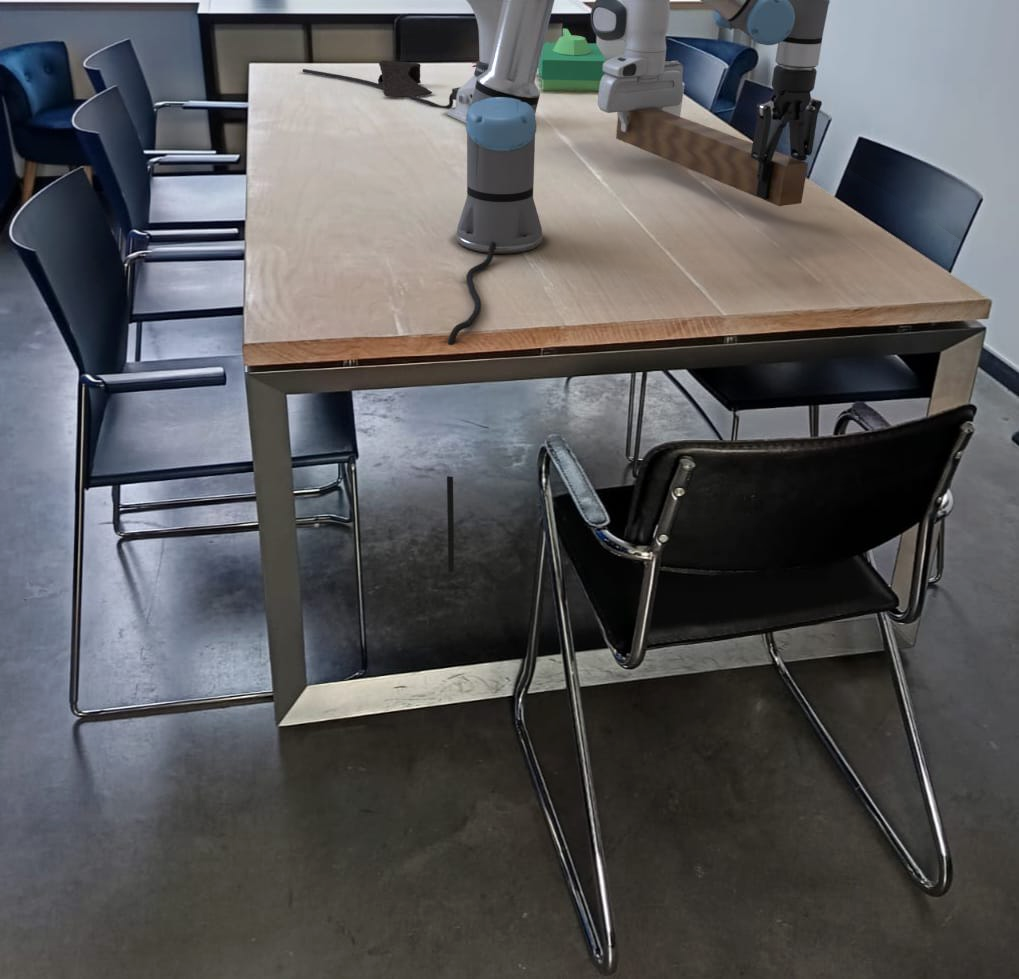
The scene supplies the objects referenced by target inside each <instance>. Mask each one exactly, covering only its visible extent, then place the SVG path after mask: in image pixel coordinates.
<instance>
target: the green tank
mask: <svg viewBox="0 0 1019 979" xmlns="http://www.w3.org/2000/svg"><path fill="white" fill-rule="evenodd" d="M607 60H608V59H606V57H605V55H604V54H603V52H602V51H601V49H600V48H599V46H598V44H597V43H590V42H589V43H588V41H587V38H586V37H584V36H581V35H575V34H574V35H572V34H571V33H570V31H569V29H568V28H562V35H561V36H560V37H559V38H558V40H557V41H556V42H544V45H543V49H542V53H541V57H540V61H539V65H538V69H537V73H538V76H539V77H540V80H541V86H542V87H541V89H542V91H574V92H576V91H581V92H599V86H600V81H601V78H602V77H603V75H605V74H606V73H605V72H604V71H603V63H604V62H605V61H607Z"/></svg>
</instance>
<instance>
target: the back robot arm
mask: <svg viewBox="0 0 1019 979" xmlns="http://www.w3.org/2000/svg"><path fill="white" fill-rule="evenodd" d="M466 2H467V3H468V4H469V6H470V7H471V9H472V11H473V14H474V16H475V20H476V23H477V29H478V51H479V52H478V54H479V55H478V56H479V58H478V60H477V61H473V62H471V64H473V65H471V67H472V68H474V73H473V76H472V77H470V79H469V80H468V81H467V82H465V83H464V84H462V86H460V87H455V88H451V93H449V97H448V101H449V102H448V104H447V105H440V104H438V103H436V102H433V101H431V100H429V99H424V98H421V97H416V96H413V95H411V94H408V93H405V94H406V96H407V97H408V98H407V99H411V100H412V101H416V102H417V103H418V102H419V103H421V104H424V105H428V106H429V107H434V108H440V109H446V115H447V116H449V117H452V118H454V119H456V120H458V121H460V122H462V123H464V124H466V117H467V112H468V109H469V108H470V105H471V103H472V99H473V95H474V90H475V86H476V81H477V77H478V76H479V75H481V74H482V73H484V72H485V71H487V69H488V66H489V62H490V57H491V53H492V48H493V44H494V39H495V35H496V31H497V26H498V22H499V17H500V13H501V8H502V4H503V0H466ZM670 12H671V0H595V1H594V2H593V4H592V7H591V10H590V25H591V29H592V31H593V33H594V34H595V35H596V36H597V38H598V39H600V40H602V41H606V42H618V41H623V42H624V50H623V52H621V53H620V54H618V55H616V56H614V57H612V58H609V59H606V60H607V61H605V62H604V63H603V71H604V72H605V73H606V74H605V75H603V77H602V78H601V81H600V86H599V91H598V94H597V107H598V108H599V110H600V111H602V112H604V113H607V114H612V113H617V114H616V115H617V118H618V117H619V119H620V121H621V131H623V132H628V131H630V130H631V123H629V122H628V121H627V118H626V116H628V111H632V110H637V109H647V108H657V109H660V110H662V109H663V107H669V106H678V105H679V104H680V103H681V101H682V102H683V99H684V92H683V83H684V82H683V74H684V66H683V64H682V63H681V62H679V60H672V61H668V60H667V61H666V56H667V43H666V38H667V33H668V30H669V25H670ZM302 73H305V74H312V75H316V76H321V77H328V78H334V79H339V80H345V81H350V82H355V83H359V84H365V85H368V86H372V87H376V88H379V89H382V90H384V89H383V88H382V86H381V84H378V82H375V81H370V80H366V79H362V78H357V77H352V76H347V75H344V74H343V75H342V74H337V73H331V72H325V71H318V70H313V69H307V68H303V69H302ZM682 98H683V99H682ZM454 101H455V106H454ZM453 106H454V107H453Z"/></svg>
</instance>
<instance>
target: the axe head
mask: <svg viewBox="0 0 1019 979" xmlns="http://www.w3.org/2000/svg"><path fill="white" fill-rule="evenodd" d="M378 66H379V68H380V72H381V74H379V75H378V79H377V83H378V84H381V86H382V88H383V89H382V88H381V89H382V90H383V95H384V96H385V97H388V98H394V99H395V98H396V99H403V98H405V99H406V98H407V99H409V98H408V97H407V96H406V94H405V93H408V94H411V95H413V96H416V97H418V98H420V97H425V96H429V95H432V94H433V91H431V90H430V89H428V88H427V87H425V86H422V85H421V84H422V82H421V63H419V62H410V61H408V62H407V61H397V60H388V59H387V60H380V61H379V62H378Z"/></svg>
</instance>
